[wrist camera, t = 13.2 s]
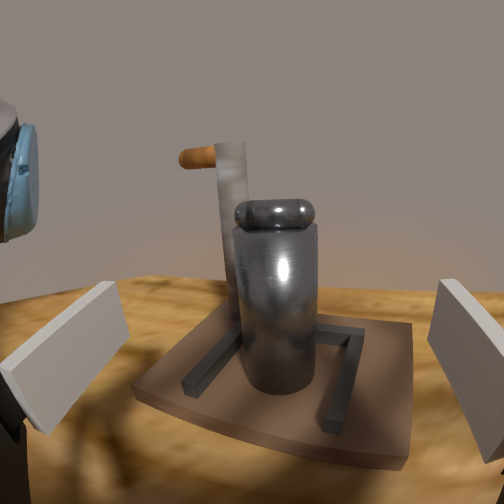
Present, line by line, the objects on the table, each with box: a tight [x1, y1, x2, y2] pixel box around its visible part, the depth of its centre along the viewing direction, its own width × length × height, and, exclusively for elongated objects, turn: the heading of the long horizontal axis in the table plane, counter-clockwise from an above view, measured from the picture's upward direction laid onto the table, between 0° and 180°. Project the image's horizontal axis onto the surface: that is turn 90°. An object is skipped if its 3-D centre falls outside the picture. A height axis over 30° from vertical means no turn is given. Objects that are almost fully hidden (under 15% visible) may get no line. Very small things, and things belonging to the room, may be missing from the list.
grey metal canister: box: [232, 199, 318, 395], centre depth 18 cm, size 5×5×12 cm
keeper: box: [131, 142, 413, 471], centre depth 20 cm, size 20×14×16 cm
